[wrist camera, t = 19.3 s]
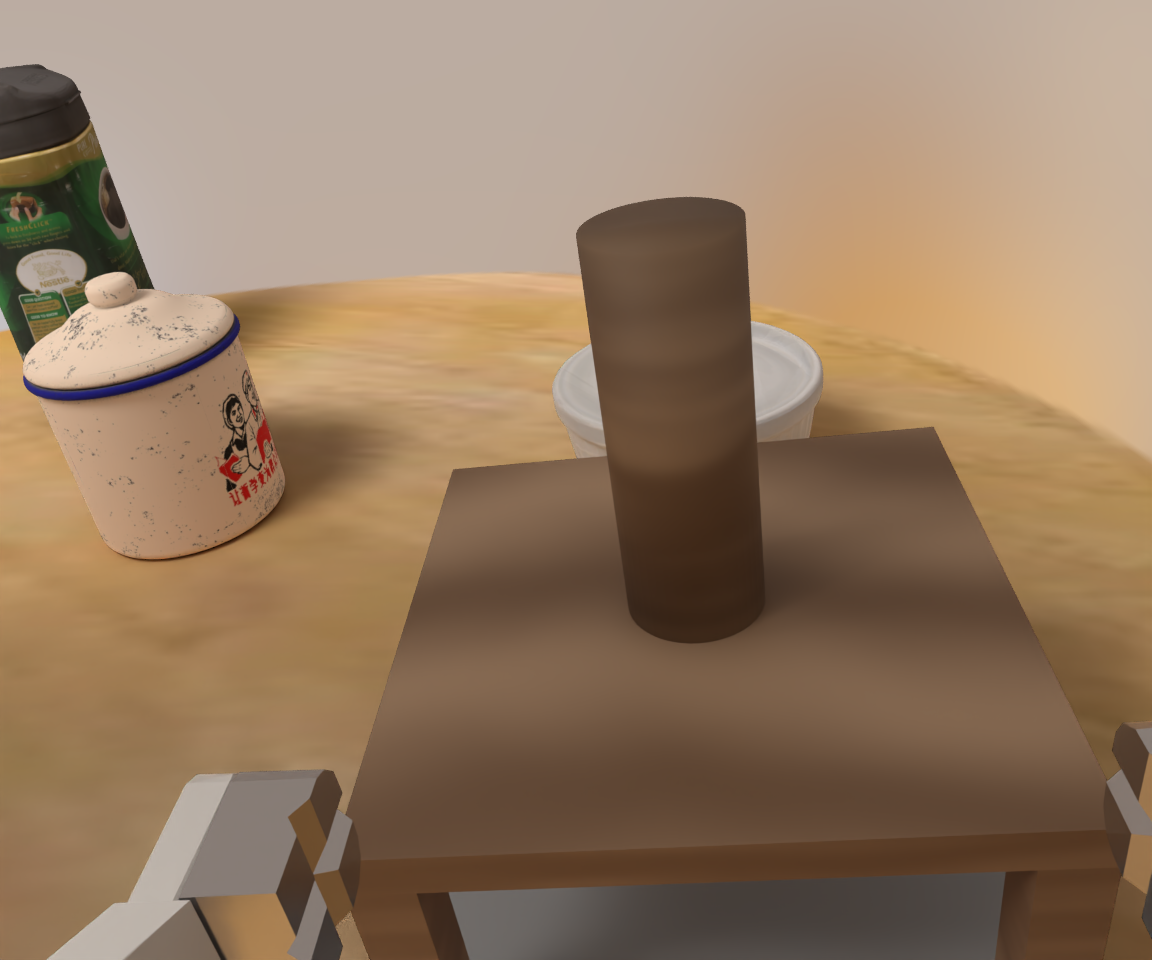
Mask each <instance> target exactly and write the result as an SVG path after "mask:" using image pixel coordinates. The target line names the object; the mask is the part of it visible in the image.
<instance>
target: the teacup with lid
mask: <svg viewBox="0 0 1152 960" xmlns="http://www.w3.org/2000/svg"><path fill="white" fill-rule="evenodd" d="M85 294H86V297H87V299H88V301H89V303H88V304H86V305H84V306H82V307H81V308H79V309H78V310H77V311H75V312H74V313H73V314H72V315H71V316H70V317H69V318H68V320H67V321H66V322H65V323H64V325H63V326H62V327H60V328H58V329H56V330H55V331H53V332H51V333H50V334H48V335H47V336H45V337H44V338H42V339H41V340H40V341H39V342H37V343H36V344H35V345H34V346H33V347H32V348H31V350H30V351H29V352H28V354H27V355H26V357H25V360H24V364H23V373H24V376H23V381H24V384H25V386H26V388H27V389H28V390H29V391H30V392H31V393H33V394H34V395H36V396H37V398H38V400H39V402H40V404H41V406H42V408H43V411H44V413H45V415H46V417H47V419H48V421H49V424H50V426H51V428H52V430H53V432H54V435H55V437H56V439H57V441H58V443H59V445H60V448H61V450H62V452H63V454H64V456H65V459H66V461H67V463H68V465H69V467H70V469H71V472H72V474H73V476H74V478H75V480H76V482H77V485H78V487H79V489H80V491H81V493H82V496H83V498H84V500H85V502H86V504H87V506H88V509H89V511H90V513H91V515H92V517H93V519H94V522H95V524H96V526H97V528H98V530H99V533H100V535H101V537H102V539H103V540H104V542H105V543H106V544H107V545H108V546H109V547H110V548H111V549H112V550H114V551H115V552H117V553H120V554H122V555H125V556H128V557H133V558H139V559H165V558H173V557H179V556H185V555H189V554H193V553H197V552H200V551H203V550H206V549H209V548H212V547H215V546H217V545H220V544H222V543H224V542H227V541H229V540H231V539H233V538H235V537H237V536H239V535H240V534H242V533H244V532H246V531H247V530H249V529H250V528H252V527H253V526H255V525H256V524H257V523H259V522H260V521H261V520H262V519H263V518H265V517H266V516H267V515H268V514H269V513H270V512H271V511H272V510H273V509H274V507H275V506H276V505H277V503H278V502H279V500H280V498H281V496H282V494H283V491H284V487H285V476H284V472H283V469H282V466H281V463H280V460H279V457H278V454H277V451H276V448H275V445H274V442H273V439H272V436H271V433H270V430H269V427H268V424H267V421H266V418H265V415H264V412H263V409H262V406H261V403H260V400H259V397H258V394H257V391H256V388H255V385H254V382H253V379H252V376H251V373H250V370H249V367H248V364H247V361H246V358H245V355H244V352H243V349H242V346H241V343H240V341H239V338H238V333H239V330H240V324H239V320H238V318H237V317H236V315H235V314H234V313H233V312H232V310H231V309H230V308H229V307H228V306H227V305H226V304H225V303H223V302H222V301H220V300H218V299H216V298H212V297H209V296H204V295H193V294H178V295H173V294H170V293H167V292H163V291H159V290H154V289H137V287H136V284H135V281H134V279H133V278H132V277H131V276H130V275H129V274H127V273H124V272H113V273H108V274H104V275H101V276H98V277H96V278H93V279H92V280H90V281H89V282H88V283H87V284H86V286H85Z"/></svg>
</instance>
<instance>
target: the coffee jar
mask: <svg viewBox="0 0 1152 960" xmlns="http://www.w3.org/2000/svg"><path fill="white" fill-rule="evenodd" d="M80 93H81V92H80V91H79V90H78V88H77V86H76V85H75V83H74V82H73V81H72V80H71V79H70V78H68V77H66V76H64V75H62V74H59V73H56V72H53V71H51V70H48V69H46V68H45V67H43V66H42V65H39V64H35V65H23V66H15V67H6V68H0V308H1V310H2V312H3V315H4V317H5V319H6V321H7V324H8V326H9V328H10V331H11V333H12V335H13V338H14V340H15V343H16V345H17V348H18V350H19V352H20V355H21V357H22V359H23V362H24V360H25V357H26V355H27V354H28V352H29V351H30V350H31V348H32V347H33V346H34V345H35V344H36V343H37V342H39V341H40V340H41V339H42V338H44V337H45V336H47V335H48V334H50V333H51V332H53V331H55V330H56V329H58V328H60V327H62V326H63V325H64V323H65V322H66V321H67V320H68V318H69V317H70V316H71V315H72V314H73V313H74V312H75V311H77V310H78V309H79V308H81V307H82V306H84V305H86V304H88V303H89V301H88V299H87V297H86V294H85V286H86V284H87V283H88V282H89V281H90V280H92V279H93V278H96V277H98V276H101V275H104V274H108V273H113V272H124V273H127V274H129V275H130V276H131V277H132V278H133V279H134V281H135V284H136V287H137V289H154V287H153V285H152V282H151V279H150V277H149V275H148V272H147V270H146V267H145V264H144V262H143V259H142V256H141V254H140V251H139V249H138V246H137V243H136V241H135V238H134V236H133V233H132V231H131V228H130V225H129V223H128V220H127V218H126V215H125V212H124V210H123V207H122V204H121V202H120V199H119V197H118V194H117V191H116V189H115V186H114V183H113V180H112V178H111V175H110V172H109V170H108V167H107V164H106V161H105V158H104V156H103V153H102V150H101V147H100V144H99V141H98V139H97V136H96V133H95V130H94V128H93V124H92V122H91V121H90V120H89V119H90V116H89V114H88V112H87V109H86V107H85V105H84V103H83V100H82V98H81V96H80ZM154 290H155V289H154Z"/></svg>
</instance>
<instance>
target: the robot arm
mask: <svg viewBox="0 0 1152 960" xmlns="http://www.w3.org/2000/svg"><path fill="white" fill-rule="evenodd" d="M1112 751H1113V753H1114V755H1115V757H1116V759H1117V761H1118V763H1119V765H1120V767H1121V770H1119V771H1118V772H1117V773H1116V774H1115V775H1114V776H1113V777H1111V778H1110V779H1109V780H1108V781H1107V782H1106V788H1105V795H1104V803H1103V810H1104V819H1105V828H1106V834H1107V838H1108V841H1109V844H1110V847H1111V851H1112V854H1113V856H1114V859H1115V861H1116V863H1117V865H1118V868H1119V870H1120V872H1121V874H1122V876H1123V878H1124V879H1126V880H1127V881H1128V882H1130V883H1131V884H1133V885H1134V886H1135V887H1137V888H1138V889H1139V890H1141V891H1142V892H1143V893H1145V894H1146V895H1147V896H1146V900H1145V905H1144V910H1143V914H1142V919H1143V922H1144V924H1145V926H1146V928H1147V930H1148V932H1149V934H1150V936H1151V938H1152V721H1141V722H1127V723H1122V725H1121V726H1120V727H1119V729H1118V730H1117V731H1116V734H1115V739H1114V744H1113V749H1112ZM341 795H342V791H341V788H340V786H339V784H338V781H337V779H336V777H335V774H334V772H333V771H329V770H293V771H261V772H240V773H221V774H197V775H196V776H195V777H193V778H192V779H191V780H190V781H189V782H188V783H187V784H186V785H185V786H184V788H183V790H182V792H181V794H180V796H179V798H178V800H177V802H176V804H175V806H174V808H173V810H172V812H171V814H170V816H169V818H168V820H167V822H166V824H165V827H164V829H163V831H162V833H161V835H160V837H159V839H158V841H157V843H156V845H155V847H154V849H153V851H152V853H151V855H150V857H149V859H148V861H147V863H146V865H145V867H144V869H143V871H142V873H141V875H140V877H139V879H138V881H137V883H136V885H135V887H134V889H133V891H132V893H131V895H130V897H129V899H128V902H124V903H114V904H112V905H111V906H110V907H109V908H108V909H106V910H105V911H104V912H103V913H102V914H100V915H99V916H98V917H97V918H96V919H94V920H93V921H92V922H91V923H90V924H88V925H87V926H86V927H85V928H84V929H82V930H81V931H80V932H79V933H78V934H76V935H75V936H74V937H73V938H72V939H70V940H69V941H68V942H67V943H66V944H64V945H63V946H62V947H61V948H60V949H58V950H57V951H56V952H55V953H54V954H52V955H51V956H50V957H49V958H48V959H46V960H339V958H340V955H341V951H342V947H343V945H342V943H341V940H340V938H339V935H338V933H337V931H336V928H335V926H336V925H337V924H338V923H339V922H340V921H341V920H342V919H343V918H344V917H345V916H346V915H347V914H348V913H349V912H350V911H351V910H352V909H353V907H354V903H355V899H356V895H357V891H358V887H359V881H360V865H361V853H360V846H359V839H358V834H357V831H356V829H355V826H354V823H353V820H351V819H350V818H349V817H347V816H346V815H344V814H343V813H342V812H340V811H339V810H337V808H338V804H339V801H340V798H341Z"/></svg>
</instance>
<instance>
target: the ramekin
mask: <svg viewBox="0 0 1152 960" xmlns="http://www.w3.org/2000/svg"><path fill="white" fill-rule="evenodd" d="M751 334H752V353H753V372H754V391H755V410H756V429H757V443H758V442H769V441H780V440H792V439H803V438H809V436H810V431H811V426H812V420H813V414H814V409H815V406H816V405H817V403H818V401H819V399H820V397H821V393H822V388H823V368H822V363H821V360H820V358H819V356H818V355H817V353H816V352H815V350H814V349H813V348H812V347H811V346H810V345H809V344H807V343H806V342H805V341H804V340H802V339H801V338H799V337H798V336H796V335H794V334H792V333H790V332H788V331H785V330H783V329H780V328H777V327H775V326H772V325H768V324H764V323H760V322H754V321H751ZM552 392H553V399H554V404H555V409H556V412H557V414H558V416H559V418H560V420H561V421H562V423H563V424H564V425H565V426H566V428H567V431H568V434H569V437H570V440H571V443H572V446H573V448H574V451H575V454H576V457H577V458H589V457H600V456H607V452H606V445H605V438H604V431H603V424H602V416H601V409H600V402H599V395H598V388H597V381H596V374H595V367H594V360H593V353H592V345H591V344H590V345H588V346H586V347H584V348H583V349H581V350H580V351H578V352H577V353H575V354H574V355H573V356H572V357H570V358H569V359H568V360H567V361H566V362H565V363H564V364H563V366H562V367H561V368H560V369H559V371H558V373H557V375H556V377H555V380H554V382H553V387H552Z"/></svg>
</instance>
